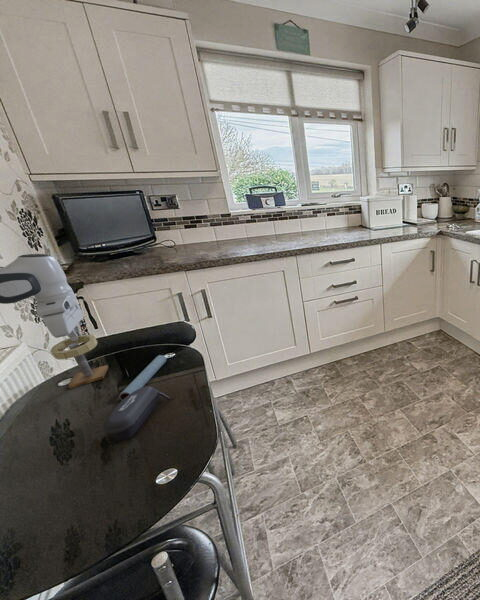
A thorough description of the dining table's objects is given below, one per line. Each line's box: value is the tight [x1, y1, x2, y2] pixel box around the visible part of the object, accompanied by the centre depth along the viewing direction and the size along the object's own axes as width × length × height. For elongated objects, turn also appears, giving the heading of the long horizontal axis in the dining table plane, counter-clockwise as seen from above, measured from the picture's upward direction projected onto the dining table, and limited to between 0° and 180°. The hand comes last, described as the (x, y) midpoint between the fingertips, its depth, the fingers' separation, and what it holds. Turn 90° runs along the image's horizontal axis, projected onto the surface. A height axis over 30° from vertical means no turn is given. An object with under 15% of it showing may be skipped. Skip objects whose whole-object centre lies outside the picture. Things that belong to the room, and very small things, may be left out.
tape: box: [50, 334, 98, 360], centre depth 109 cm, size 11×11×2 cm
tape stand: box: [67, 343, 109, 389], centre depth 111 cm, size 9×9×14 cm
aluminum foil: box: [118, 354, 168, 401], centre depth 108 cm, size 23×7×3 cm, turn 11°
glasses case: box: [103, 385, 171, 442], centre depth 89 cm, size 18×10×8 cm, turn 13°
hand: (76, 338), depth 112 cm, fingers closed on tape, 1 cm apart
